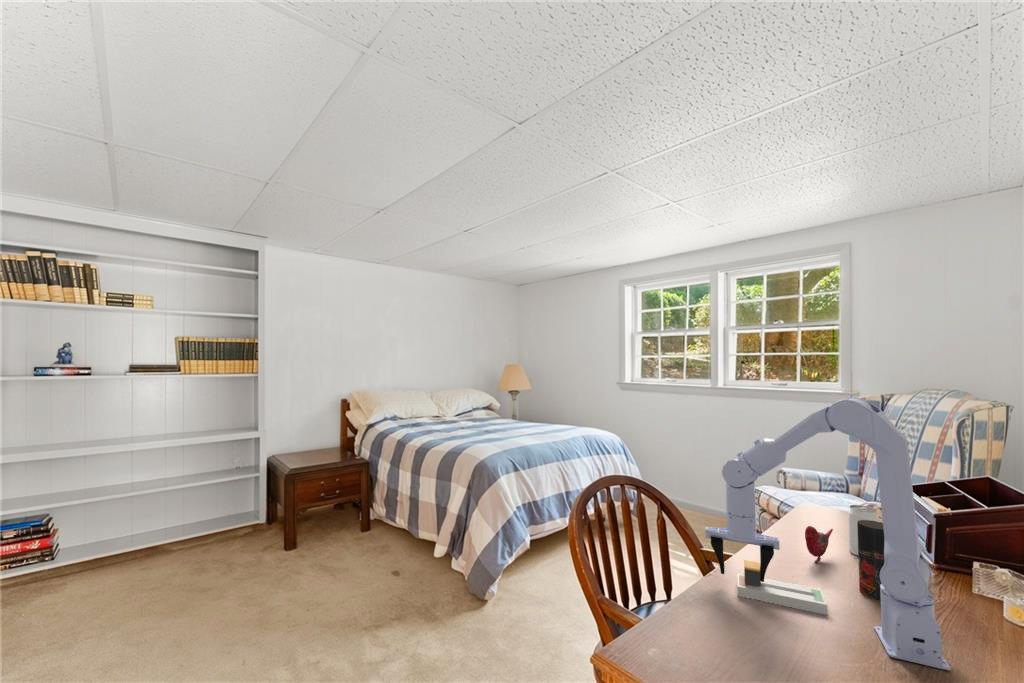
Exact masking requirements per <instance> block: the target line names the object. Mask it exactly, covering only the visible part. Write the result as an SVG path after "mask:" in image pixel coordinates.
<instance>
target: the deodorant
mask: <svg viewBox="0 0 1024 683" xmlns="http://www.w3.org/2000/svg"><path fill="white" fill-rule="evenodd" d="M857 526H858V556H857V558H858V582H859V583H858V584H859V592H860V594H861V595H863V596H864V597H866V598H868V599H871V600H872V601H873V600H874V601H877V602H879V603H881V594H880V589H881V588H880V585H881V584H882V583H881V581H880V571H881V569H882V567H883V566H884V562H885V558H884V544H885V537H884V528H883V522H880V521H879V522H877V521H871V520H859V521H857Z"/></svg>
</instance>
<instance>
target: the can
mask: <svg viewBox="0 0 1024 683" xmlns="http://www.w3.org/2000/svg"><path fill="white" fill-rule="evenodd" d="M877 511H878V509H876V508H874V507H871V506H866V505H860V504H851V505H849V510H848V511H847V521H848V522H847V523H848V549H849V551H850V553H851V554H852V555H854V556H856V557H858V526H857V521H859V520H871V521H877V522H880V517H879V515H878V513H877Z"/></svg>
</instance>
